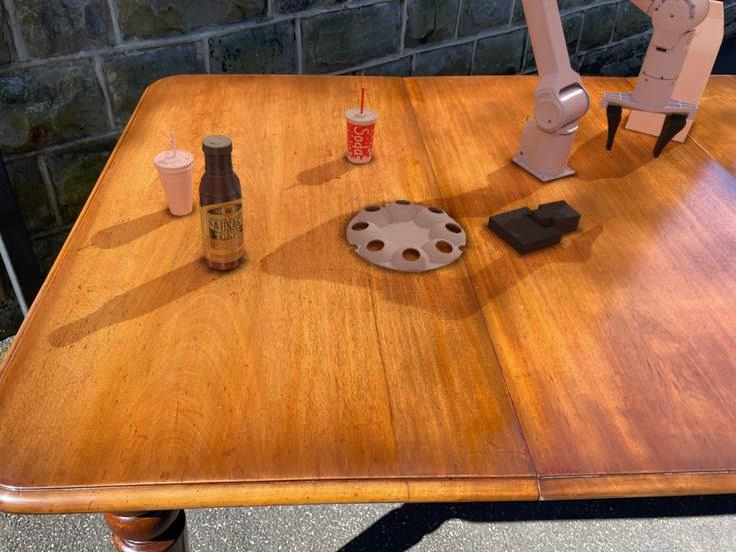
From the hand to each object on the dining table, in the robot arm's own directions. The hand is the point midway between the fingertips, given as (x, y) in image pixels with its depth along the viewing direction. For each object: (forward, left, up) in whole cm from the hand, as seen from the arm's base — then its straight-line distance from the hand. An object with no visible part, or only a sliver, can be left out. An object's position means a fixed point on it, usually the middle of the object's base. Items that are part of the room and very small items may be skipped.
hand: (631, 151), depth 109 cm
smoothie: (-29, -72, -10) cm, 78 cm away
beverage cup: (-33, -35, -10) cm, 49 cm away
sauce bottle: (-12, -70, -10) cm, 72 cm away
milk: (-19, +33, -10) cm, 39 cm away
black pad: (+2, -23, -9) cm, 25 cm away
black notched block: (+2, -17, -9) cm, 20 cm away
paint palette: (-6, -41, -10) cm, 43 cm away
